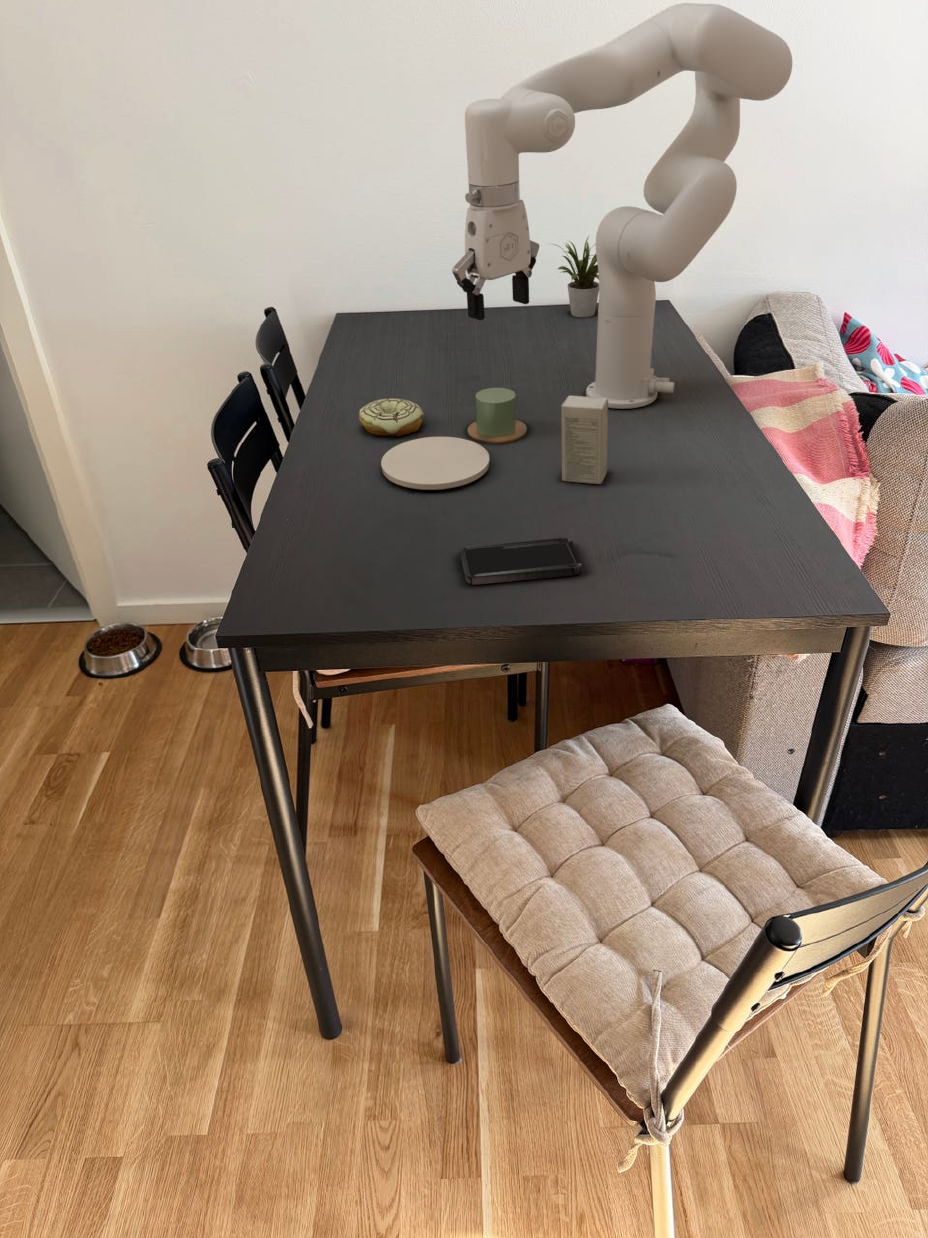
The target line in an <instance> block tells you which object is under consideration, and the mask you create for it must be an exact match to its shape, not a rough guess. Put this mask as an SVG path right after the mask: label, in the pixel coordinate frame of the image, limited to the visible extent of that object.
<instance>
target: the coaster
mask: <svg viewBox="0 0 928 1238" xmlns="http://www.w3.org/2000/svg"><path fill="white" fill-rule="evenodd" d="M527 432H528V428H527V425H526V424H525V423H524V422H522V421H521V420H518V419H516V430H515V431H514V432H513V433H512V434H510V435H507V436H502V437H488V436H484V435H481V434H479V433H478V432H477V426H476V420H475V421H473V422H472V423H470V424H469V425H468V427H467V435H468V436H469V437H470V438H471V439H472V440H474V441H477V442H481V443H485V444H506V443H510V442H515V441H517V440H520V439H522V438H523V437H524V436H526V435H527Z"/></svg>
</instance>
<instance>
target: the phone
mask: <svg viewBox="0 0 928 1238" xmlns="http://www.w3.org/2000/svg"><path fill="white" fill-rule="evenodd" d="M460 559H461V565H462V569H463V573H464V579H465V582H466V583H467V584H469V585H472V586H474V585H486V584H487V585H488V584H497V583H507V582H518V581H527V580H528V581H529V580H530V581H531V580H539V579H551V578H559V577H572V576H577V575H579V574H581V572H582V561H581V559H580V556H579V554H578V552H577V549H576V547H575V544H574V542H573V540H572V539H571V538H568V537H557V538H546V539H536V540H535V539H534V540H525V541H523V540H522V541H513V542H502V543H491V544H481V545H480V544H479V545H470V546H464V547H462V548H461V550H460Z"/></svg>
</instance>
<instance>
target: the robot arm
mask: <svg viewBox="0 0 928 1238" xmlns="http://www.w3.org/2000/svg"><path fill="white" fill-rule="evenodd" d="M685 71H690V72H694V81H695V82H694V83H695V97H694V106H693V110H692V113H691V115H690V117H689V119H688V121H687V122H686V124H685V125H684V127H683V128H682V129H681V131H680V132H679V133H678V135H677V136H676V137H675V139H674V140H673V141H672V142H671V144H670V145H669V146H668V148H666V150H665V151H664V152H663V154H662V155H661V156H660V158H659V159H658V160H657V162H656V163H655V164H654V166H653V167H652V169H651V170H650V171H649V173H648V175H646V179H645V181H644V184H643V197H644V200H645V202H646V203H647V205H648V206H649V207H650V208H651V209H653V210H654V211H651V210H647V209H644V208H640V207H637V206H628V205H626V206H625V205H624V206H619V207H616V208H614V209H612V210H611V211H609V212H608V213H606V215H604V217H603V218H602V219H601V221H600V222H599V225H598V227H597V230H596V233H595V234H596V235H595V243H594V246H595V254H596V257H597V262H596V263H597V264H598V272H599V273H598V275H599V280H598V283H599V294H598V309H597V332H596V354H595V355H596V356H595V378H594V379H595V380H594V381H593V382H591V383H589V385H587V387H586V389H585V396H586V397H601V398H608V409H620V410H627V409H637V408H641V407H645V406H648V405H650V404H652V403H653V402H655V400H656V399H657V398H658V393H660V392H661V393H663V394H673V393H674V391H675V382H674V381H670V380H671V379H670V377H658V376H657V375H654V374H655V368H653V367H652V366H651V363H652V349H653V339H654V325H655V311H656V302H657V292H656V291H657V290H656V283H665V282H669V281H671V280H673V279H675V278H677V277H678V276H680V274H682V273H683V272H684V271H685V270H686V269H687V268H688V267H689V265H690V264H691V263H692V261H694V259H695V258H696V257H697V256H698V254H699V253H700V252H701V251H702V249H703V248H704V247H705V245H706V244H707V243H708V242H709V241H710V239H711V238H712V237H713V235H714V234H716V231H717V230H719V228H720V227H721V225H722V224H723V223H724V221H725V220H726V219H727V217H728V216H729V214H730V212H731V210H732V208H733V205H734V203H735V199H736V195H737V184H738V183H737V178H736V174H735V172H734V170H733V168H732V167H731V166H729V164H727V163H726V162H725V161H726V160H727V159H728V157H729V156H730V154H731V153H732V151H733V150H734V148H735V146H736V145H737V141H738V139H739V135H740V129H741V99H742V100H749V101H758V102H759V101H761V102H763V101H767V100H770V99H772V98H774V97H776V96H777V95H779V94H780V92H782V91H783V90H784V88H785V87H786V85H787V84H788V82H789V80H790V78H791V74H792V71H793V55H792V51H791V49H790V47H789V44H788V43H787V42H786V41H785V40H784V39H783V38H782V37H781V36H779V35H778V34H776V33H775V32H773V31H771V30H769V29H767V28H765V27H764V26H762V25H760V24H759V23H757V22H755V21H753V20H751V18H750V19H749V18H748V17H746V16H744V15H743V14H741V13H739V12H737V11H735V10H733V9H731V8H730V7H727V6H725V5H721V4H717V3H695V2H683V3H677V4H673V5H671V6H669V7H666V8H665V9H663V10H661V11H659V12H658V13H655V14H653V16H651V17H649V18H648V19H646V20H644V21H643V22H641V23H638V24H637V25H636V26H634V27H632V28H630V29H629V30H627V31H625V32H624V33H622V34H621V35H619V36H616V37H615V38H614V39H612V40H610V41H607V42H606V43H604V44H602V45H599V46H598V47H595V48H592V49H588V50H587V51H584V52H582V53H580V54H577V55H574V56H572V57H569V58H567V59H564V60H562V61H559V62H556V63H554V64H551V65H549V66H547V67H545V68H543V69H541V70H539V71H537V72H535V73H533V74H532V75H530V76H528V77H526V78H525V79H523V80H521V81H520V82H518V83H517V84H514V85H513V86H512V87H510V88H509V89H508V90H506V91H505V92H504V93H503V95H501V97H500V98H485V99H479V100H475V101H472V102H471V103H469V104H468V105H467V106H466V108H465V111H464V128H465V129H464V130H465V144H466V163H467V179H468V180H467V181H468V183H467V184H468V192H467V193H465V196H464V198H465V201H466V203H468V204H469V207H467V208H466V217H465V226H464V227H465V228H464V255H463V256H462V257H461V258H460V260H458V261H457V263H456V264H455V265H453V267H452V269H451V273H452V275H453V276H454V279H455V280H456V283H457V285H458V286H459V287H460V288H461V289H462V291H463V292H464V293H466V305H467V316H468V317H469V318H470V319H474V320H478V321H483V320H484V319H485V318H486V317H485V299H484V297H485V296H484V294H483V293H481V291H482V289H483V286H484V285H485V283H486V281H494V280H497V279H500V278H504V277H507V276H510V275H512V277H511V286H512V287H511V289H512V291H511V292H512V301H513V302H515V303H519V304H521V305H522V304H523V305H529V303H530V279H529V278H531V277H532V276H533V271H532V270H533V269H534V267H535V265H536V264H537V256H538V253H539V250H540V244H539V243H538V242H535V241H533V240H531V237H530V236H531V235H530V226H529V219H528V213H527V209H526V206H525V205H526V204H525V202H524V200H523V199H521V191H520V189H521V187H520V186H521V185H520V154H521V153H537V154H538V153H541V154H542V153H543V154H546V153H552V152H556V151H557V150H560V149H561V148H563V147H564V146H565V145H566V144H568V142H569V141H570V140H571V138H572V136H573V134H574V132H575V127H576V116H575V115H576V114H577V113H581V112H586V111H594V110H605V109H611V108H616V107H619V106H624V105H626V104H629V103H630V102H632V101H634V100H635V99H637V98H639V97H641V96H642V95H643V94H645V93H648V91H651V90H652V89H653V88H655V87H657V86H660V84H663V82H665V81H667V80H669V79H670V78H673V77H674V76H676V75H677V74H679V73H681V72H685ZM655 211H656V212H658V213H656V212H655ZM659 213H660V214H659ZM597 264H596V265H597ZM466 273H467V274H466Z"/></svg>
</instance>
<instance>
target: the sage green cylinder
mask: <svg viewBox="0 0 928 1238" xmlns="http://www.w3.org/2000/svg"><path fill="white" fill-rule="evenodd" d="M516 396H517V395H516V392H515V391H513V390H512V389H509V388H505V387H489V388H485V389H481V390H479V391H478V392H476V393H475V421H476V426H477V432H478V433H479V434H481V435H484V436H488V437H502V436H507V435H510V434H512V433H513V432H514V431H515V430H516V420H517V414H516V411H517V410H516V407H517V406H516V402H517V401H516V399H517V397H516Z"/></svg>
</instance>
